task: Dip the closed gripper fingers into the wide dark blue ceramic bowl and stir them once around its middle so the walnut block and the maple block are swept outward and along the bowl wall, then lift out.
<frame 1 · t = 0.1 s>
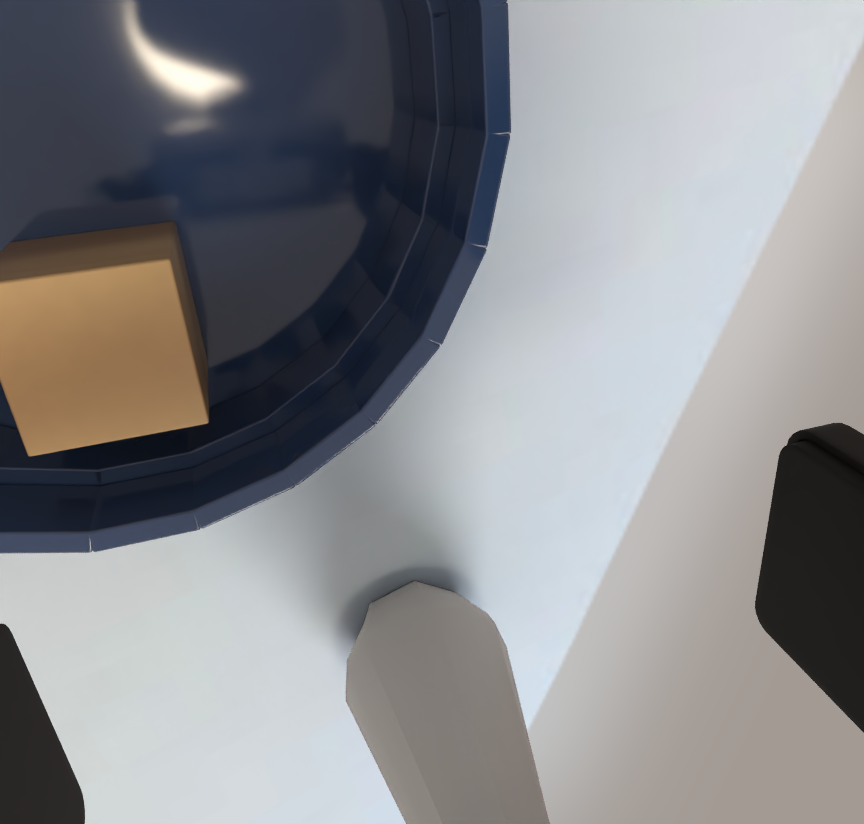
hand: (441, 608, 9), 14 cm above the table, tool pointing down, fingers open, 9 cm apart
bowl: (61, 101, 18), on the table
salt shaker: (409, 622, 28), on the table
maple block: (115, 306, 20), point 1 cm above the table, touching bowl
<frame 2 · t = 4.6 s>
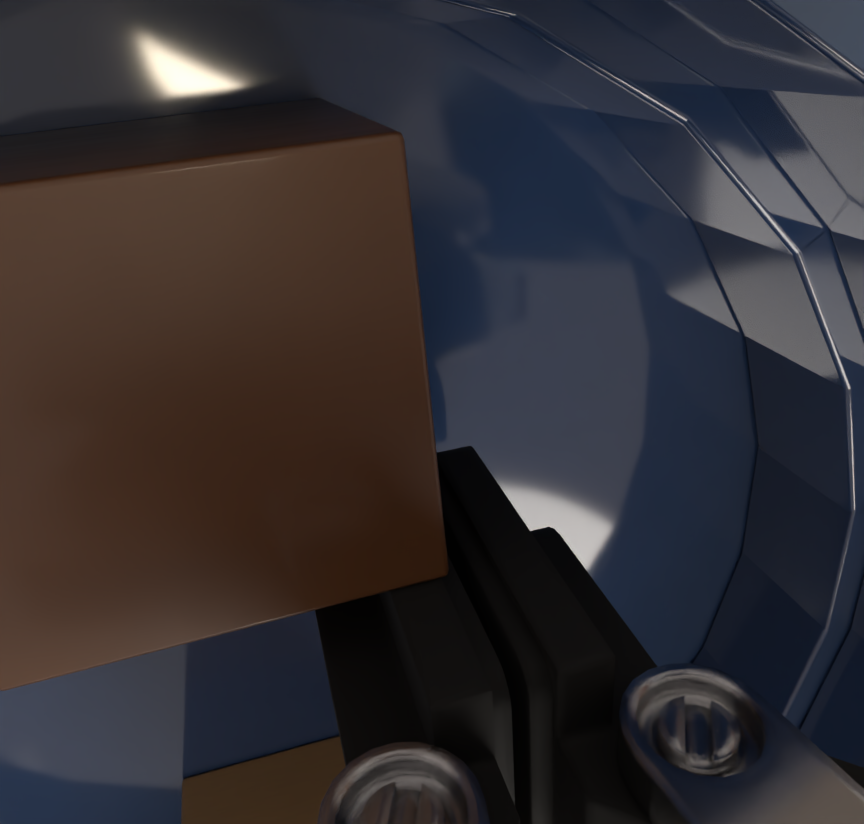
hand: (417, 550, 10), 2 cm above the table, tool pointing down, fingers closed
walnut block: (189, 291, 9), point 1 cm above the table, touching bowl
bowl: (267, 589, 12), on the table
maple block: (315, 817, 14), point 1 cm above the table, touching bowl
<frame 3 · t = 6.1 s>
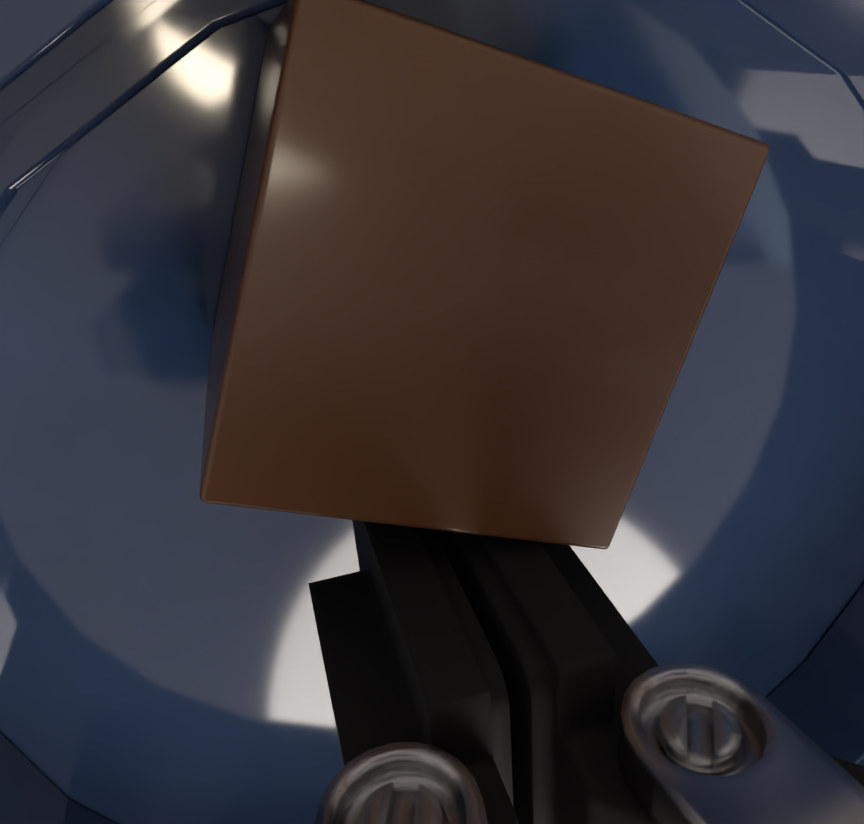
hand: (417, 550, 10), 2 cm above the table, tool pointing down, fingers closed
walnut block: (392, 238, 10), point 1 cm above the table, touching bowl, gripper
bowl: (494, 519, 13), on the table
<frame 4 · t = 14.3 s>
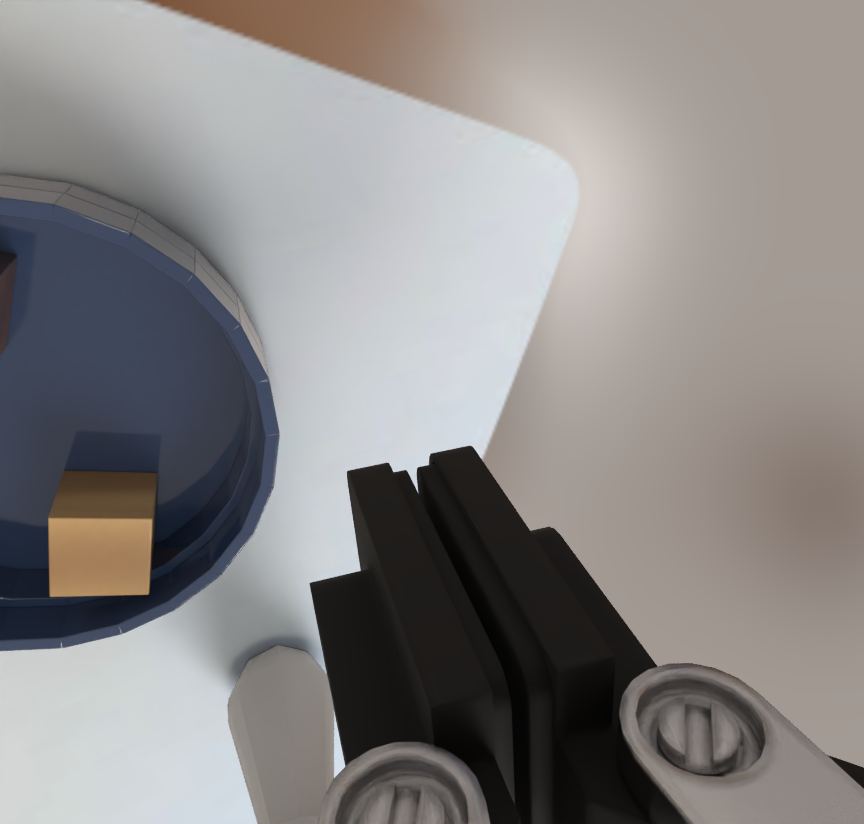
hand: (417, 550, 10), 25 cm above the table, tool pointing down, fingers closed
bowl: (45, 400, 33), on the table
salt shaker: (277, 670, 43), on the table
maple block: (110, 507, 35), point 1 cm above the table, touching bowl
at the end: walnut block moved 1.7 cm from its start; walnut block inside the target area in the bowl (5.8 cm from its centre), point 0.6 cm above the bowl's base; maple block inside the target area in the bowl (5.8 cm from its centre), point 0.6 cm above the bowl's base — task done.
